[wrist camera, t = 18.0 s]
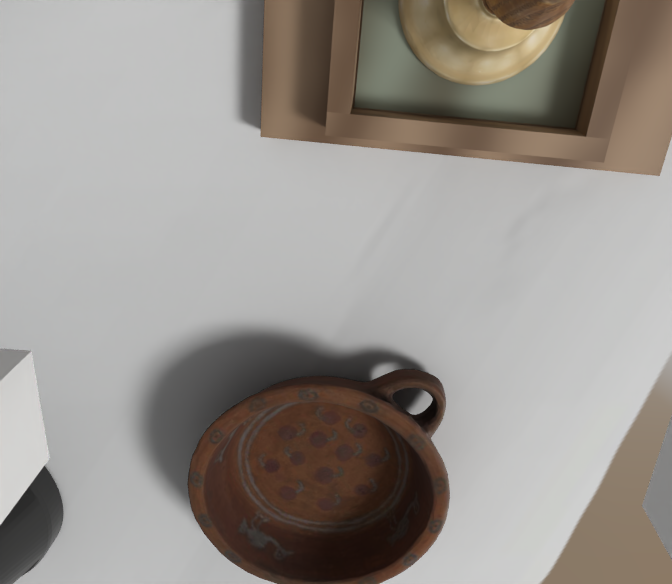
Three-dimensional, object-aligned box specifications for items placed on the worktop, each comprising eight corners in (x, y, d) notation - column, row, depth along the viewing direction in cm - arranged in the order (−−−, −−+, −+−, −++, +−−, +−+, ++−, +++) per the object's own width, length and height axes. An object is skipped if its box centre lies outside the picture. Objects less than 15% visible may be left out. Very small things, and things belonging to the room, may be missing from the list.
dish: (147, 473, 48) (121, 521, 44) (325, 278, 40) (316, 312, 35) (321, 587, 52) (314, 643, 47) (517, 430, 43) (532, 479, 39)
